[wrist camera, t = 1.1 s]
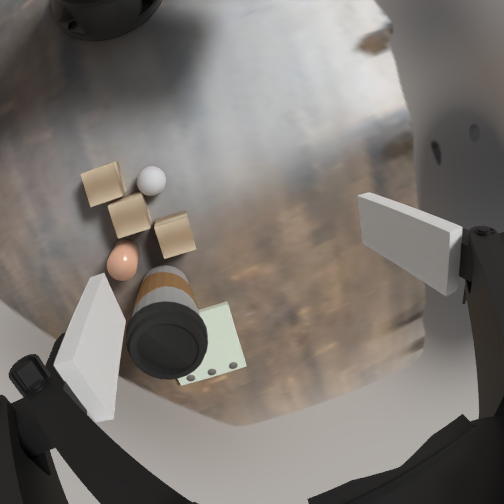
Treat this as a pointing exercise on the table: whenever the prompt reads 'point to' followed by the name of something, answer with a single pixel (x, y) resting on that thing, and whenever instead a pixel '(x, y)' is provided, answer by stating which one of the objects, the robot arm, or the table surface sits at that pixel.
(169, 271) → the coffee cup
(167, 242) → the maple cube
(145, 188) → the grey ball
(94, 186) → the maple cube
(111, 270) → the pink rounded piece
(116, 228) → the maple cube
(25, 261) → the table surface
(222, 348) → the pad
